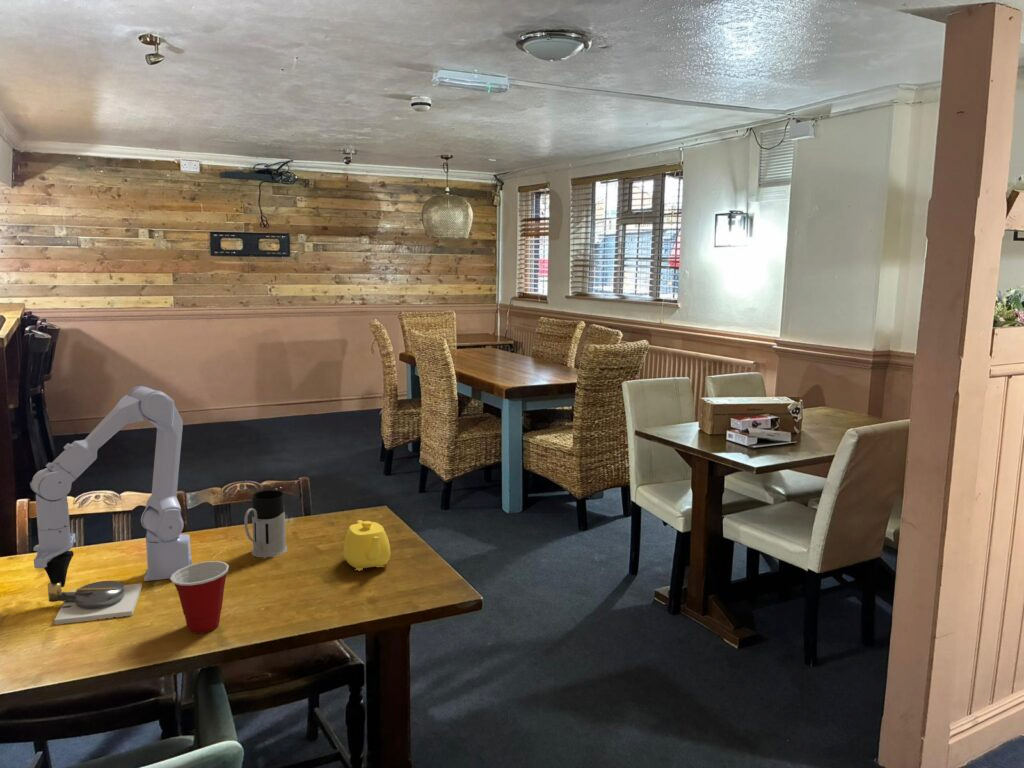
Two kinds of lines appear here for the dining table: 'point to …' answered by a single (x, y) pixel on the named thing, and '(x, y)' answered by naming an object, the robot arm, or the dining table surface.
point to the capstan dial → (89, 594)
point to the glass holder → (267, 524)
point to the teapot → (366, 545)
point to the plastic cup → (201, 594)
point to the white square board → (100, 608)
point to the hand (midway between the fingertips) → (58, 586)
